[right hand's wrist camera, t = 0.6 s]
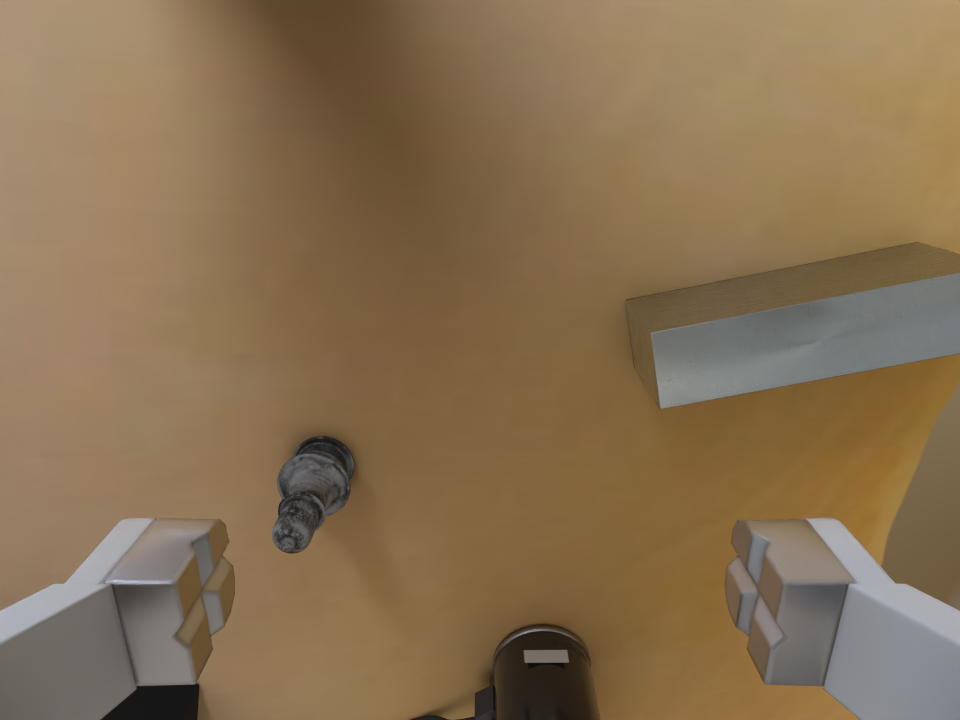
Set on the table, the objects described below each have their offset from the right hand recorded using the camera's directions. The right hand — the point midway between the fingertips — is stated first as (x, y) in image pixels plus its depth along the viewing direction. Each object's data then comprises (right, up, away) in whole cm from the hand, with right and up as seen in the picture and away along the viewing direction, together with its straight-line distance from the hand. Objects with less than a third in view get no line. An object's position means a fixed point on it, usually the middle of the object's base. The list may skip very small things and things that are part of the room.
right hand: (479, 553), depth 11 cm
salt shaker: (-13, -6, +46) cm, 48 cm away
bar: (+23, +7, +41) cm, 48 cm away
